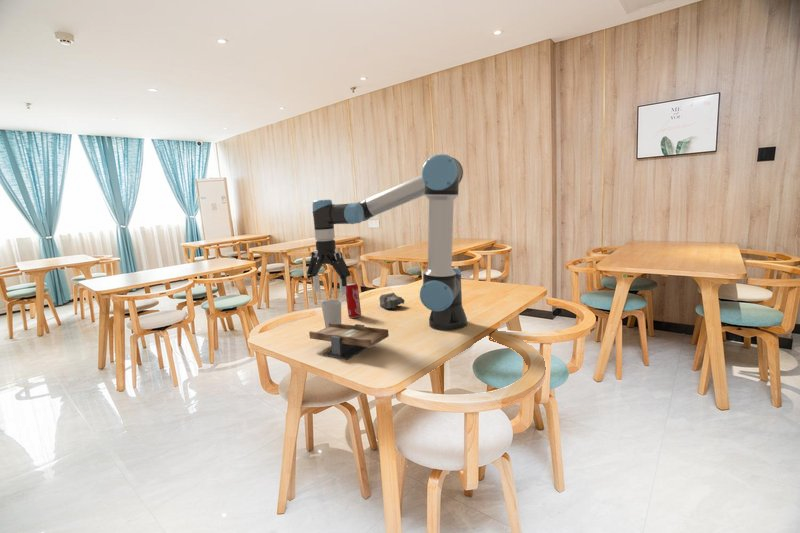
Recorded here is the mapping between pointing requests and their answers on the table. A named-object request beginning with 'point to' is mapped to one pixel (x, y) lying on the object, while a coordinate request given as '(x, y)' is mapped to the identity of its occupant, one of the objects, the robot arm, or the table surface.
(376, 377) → the table surface
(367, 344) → the beam
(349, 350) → the pivot stand
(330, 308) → the cup
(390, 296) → the rock
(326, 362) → the table surface
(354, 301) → the beverage can
